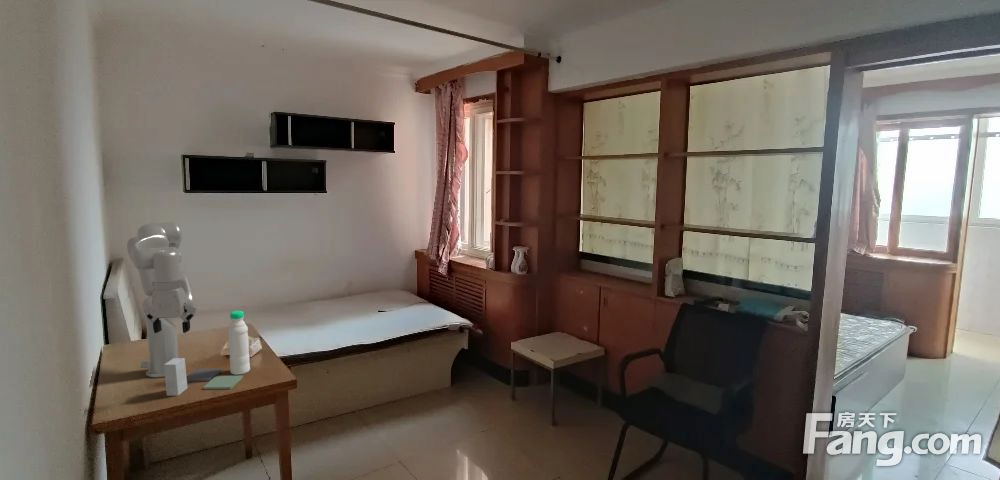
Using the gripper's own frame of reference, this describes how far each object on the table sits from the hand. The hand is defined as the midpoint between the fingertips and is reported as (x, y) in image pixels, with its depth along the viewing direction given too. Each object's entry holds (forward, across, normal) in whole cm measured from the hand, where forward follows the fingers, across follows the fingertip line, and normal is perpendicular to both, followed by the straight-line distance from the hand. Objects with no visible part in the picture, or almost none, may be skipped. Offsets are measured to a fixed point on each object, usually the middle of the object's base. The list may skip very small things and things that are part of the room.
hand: (172, 331), depth 172 cm
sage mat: (+23, +13, +7) cm, 27 cm away
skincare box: (+23, 0, 0) cm, 23 cm away
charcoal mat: (+23, +2, +14) cm, 27 cm away
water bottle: (+23, +14, +18) cm, 33 cm away
